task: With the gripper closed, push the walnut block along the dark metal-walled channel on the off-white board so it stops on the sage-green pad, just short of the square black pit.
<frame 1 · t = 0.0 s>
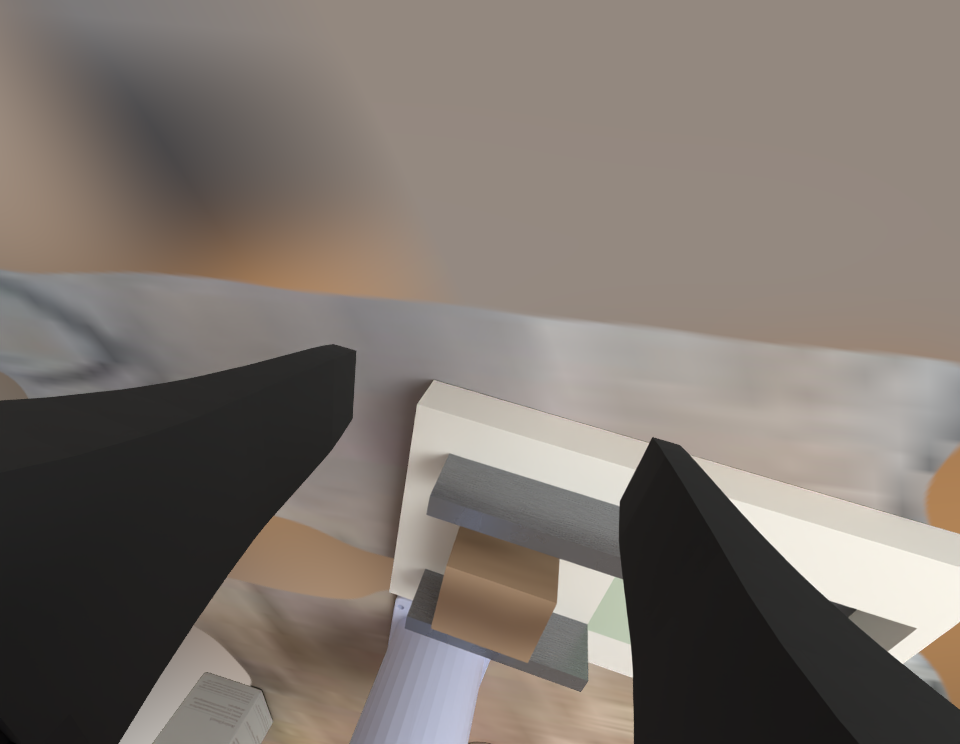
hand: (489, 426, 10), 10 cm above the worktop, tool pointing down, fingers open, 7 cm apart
channel walls: (517, 576, 21), on the channel board, point 3 cm above the worktop
supplement box: (241, 694, 46), on the worktop
channel board: (626, 550, 24), on the worktop
walnut block: (503, 546, 23), point 2 cm above the worktop, touching channel board
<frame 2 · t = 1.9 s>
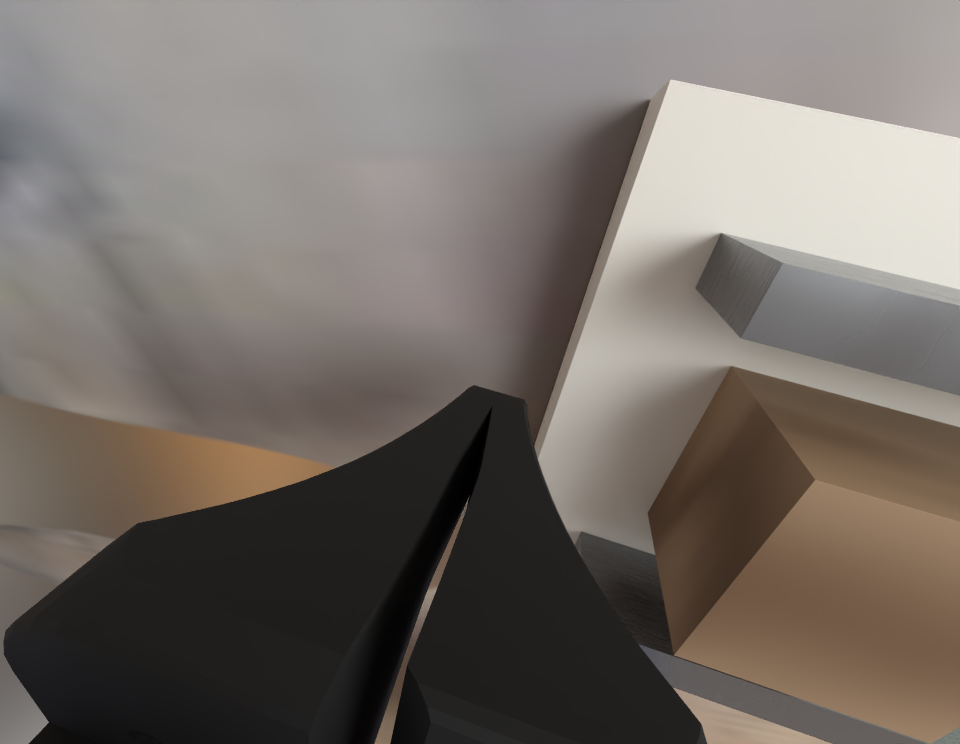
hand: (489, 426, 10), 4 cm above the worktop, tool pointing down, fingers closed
channel walls: (857, 534, 9), on the channel board, point 3 cm above the worktop
walnut block: (782, 476, 11), point 2 cm above the worktop, touching channel board
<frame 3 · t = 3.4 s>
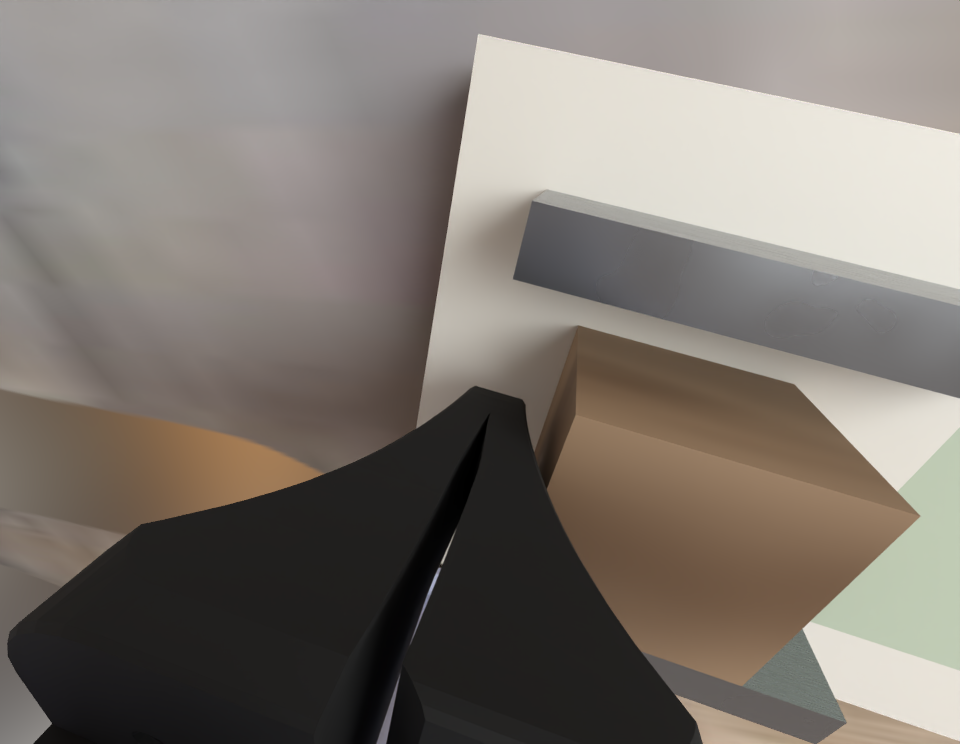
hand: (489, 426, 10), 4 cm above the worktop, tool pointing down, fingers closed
channel walls: (691, 488, 9), on the channel board, point 3 cm above the worktop
channel board: (863, 457, 12), on the worktop
walnut block: (641, 437, 11), point 3 cm above the worktop, touching gripper
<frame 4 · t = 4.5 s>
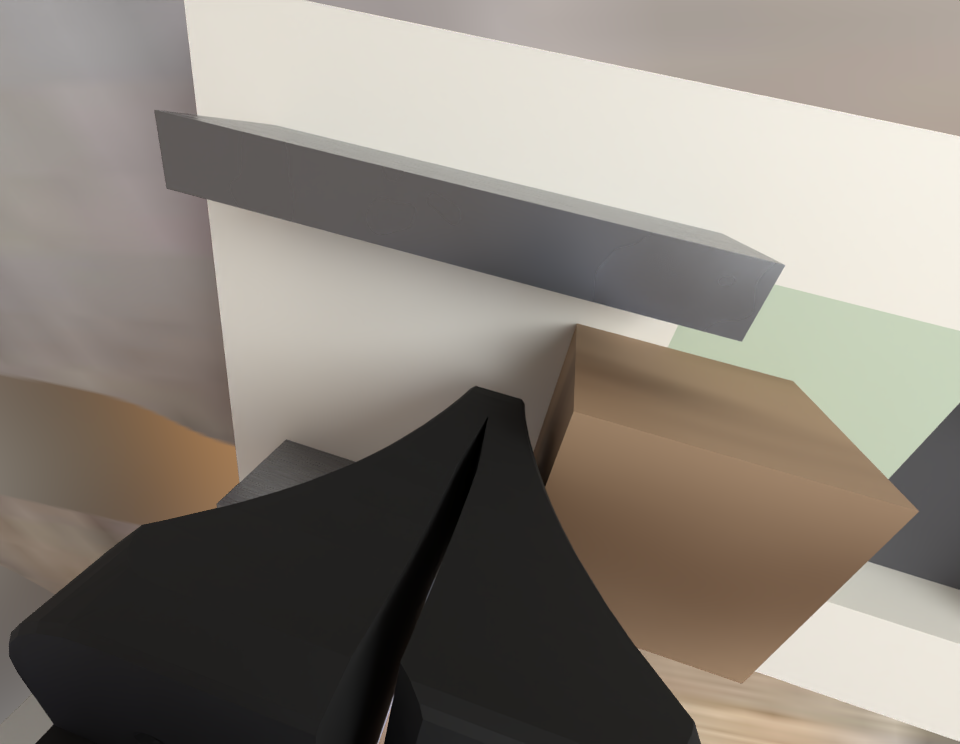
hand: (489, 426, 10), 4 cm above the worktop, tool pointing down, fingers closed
channel walls: (429, 408, 10), on the channel board, point 4 cm above the worktop
supplement box: (127, 683, 35), on the worktop
channel board: (650, 397, 13), on the worktop
walnut block: (641, 435, 11), point 2 cm above the worktop, touching channel board, gripper
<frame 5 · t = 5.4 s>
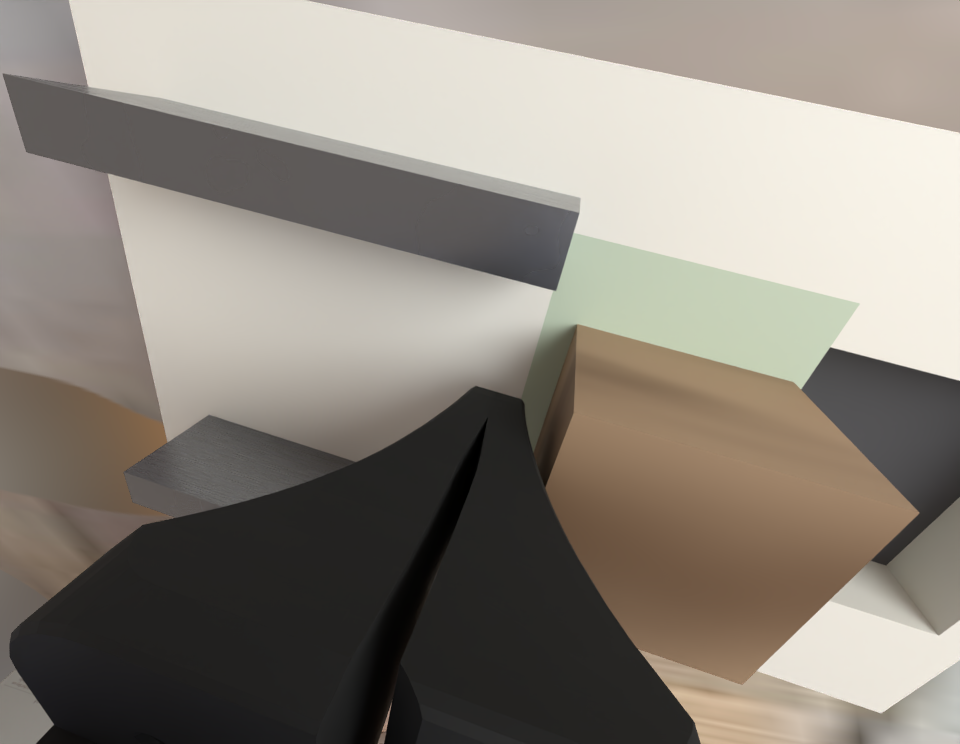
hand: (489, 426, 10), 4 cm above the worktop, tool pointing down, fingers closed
channel walls: (319, 375, 10), on the channel board, point 3 cm above the worktop
supplement box: (100, 672, 36), on the worktop
channel board: (560, 371, 13), on the worktop
walnut block: (641, 435, 11), point 3 cm above the worktop, touching gripper
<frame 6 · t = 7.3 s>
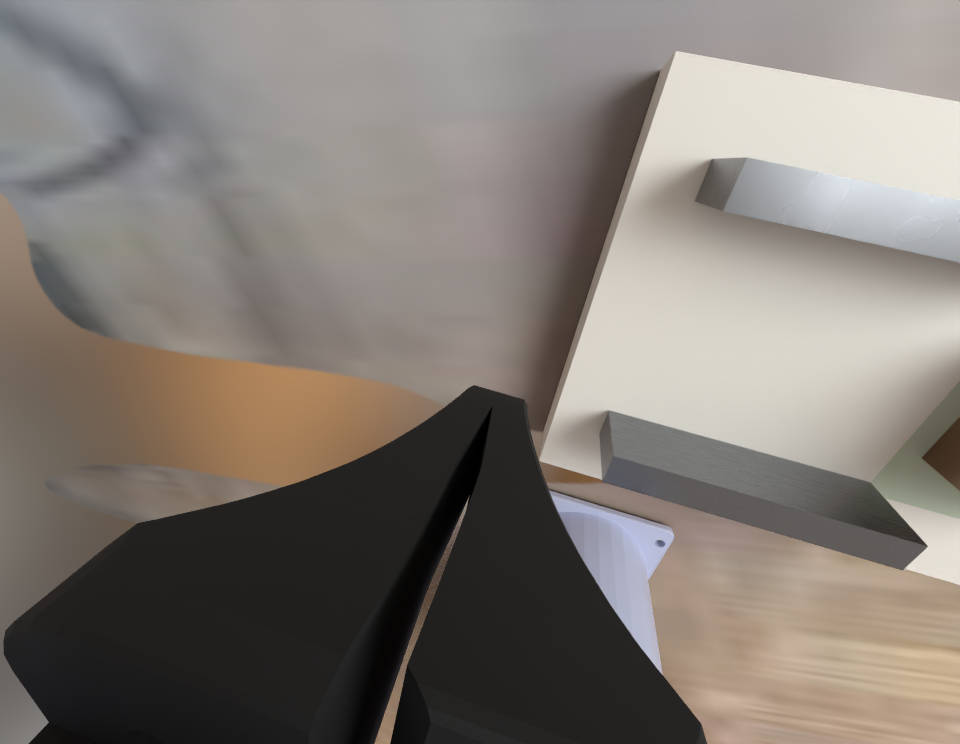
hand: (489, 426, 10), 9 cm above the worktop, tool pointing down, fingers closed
channel walls: (812, 375, 13), on the channel board, point 4 cm above the worktop
channel board: (925, 369, 16), on the worktop
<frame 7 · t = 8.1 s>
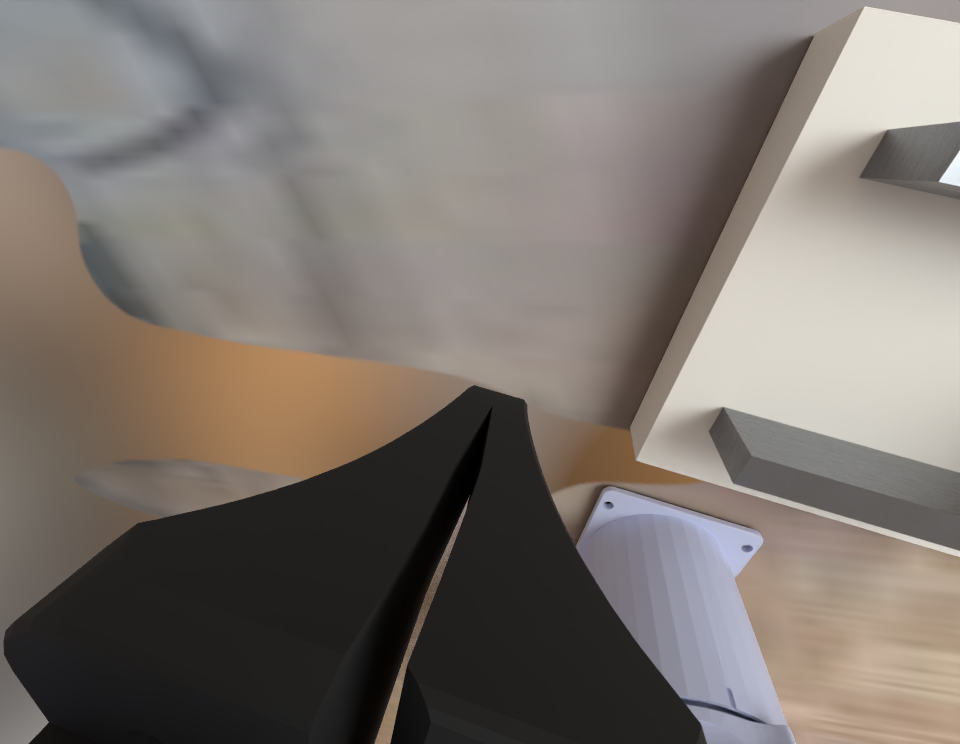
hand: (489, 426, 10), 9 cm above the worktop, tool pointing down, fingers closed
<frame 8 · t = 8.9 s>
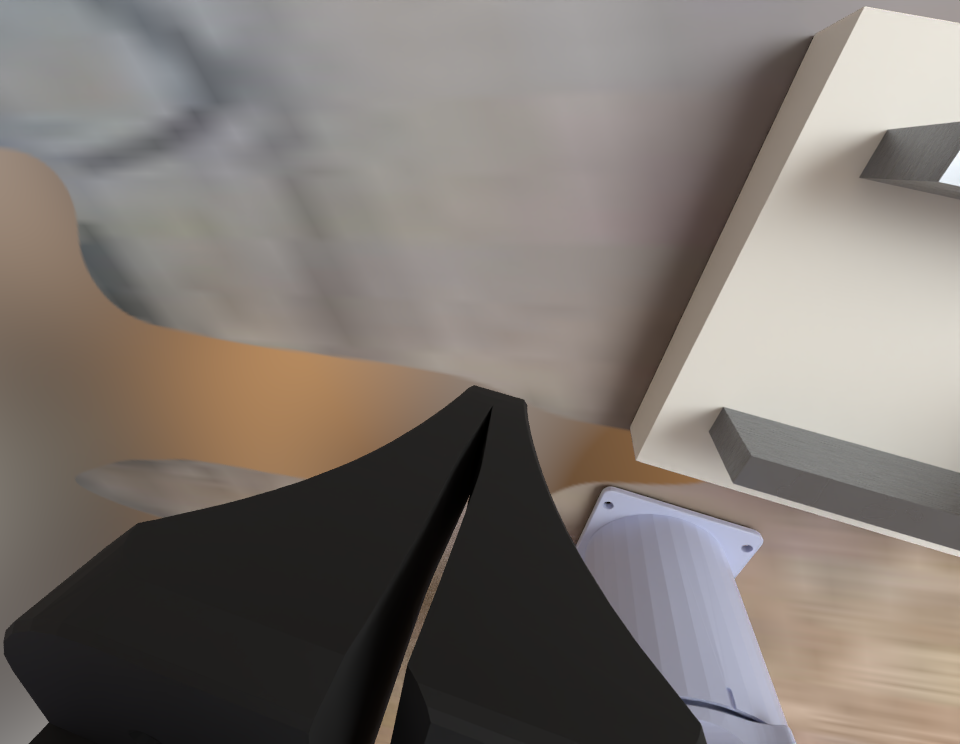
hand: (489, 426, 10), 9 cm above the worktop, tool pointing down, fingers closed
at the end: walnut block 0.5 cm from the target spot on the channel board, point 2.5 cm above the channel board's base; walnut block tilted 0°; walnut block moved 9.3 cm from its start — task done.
